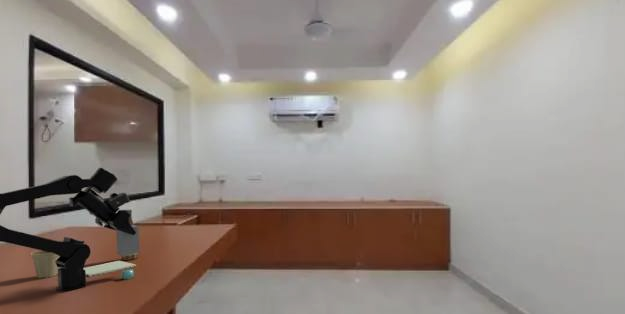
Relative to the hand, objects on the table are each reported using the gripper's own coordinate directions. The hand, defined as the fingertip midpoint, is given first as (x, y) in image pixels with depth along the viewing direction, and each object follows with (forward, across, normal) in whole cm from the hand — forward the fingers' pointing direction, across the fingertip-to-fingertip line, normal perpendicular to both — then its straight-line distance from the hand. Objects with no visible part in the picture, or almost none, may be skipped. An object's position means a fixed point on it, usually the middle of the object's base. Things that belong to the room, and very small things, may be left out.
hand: (131, 233), depth 140 cm
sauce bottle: (+16, +28, +4) cm, 32 cm away
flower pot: (-4, +26, +24) cm, 35 cm away
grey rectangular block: (+4, 0, +6) cm, 7 cm away
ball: (+7, -4, +12) cm, 15 cm away
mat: (+7, +18, +12) cm, 23 cm away
